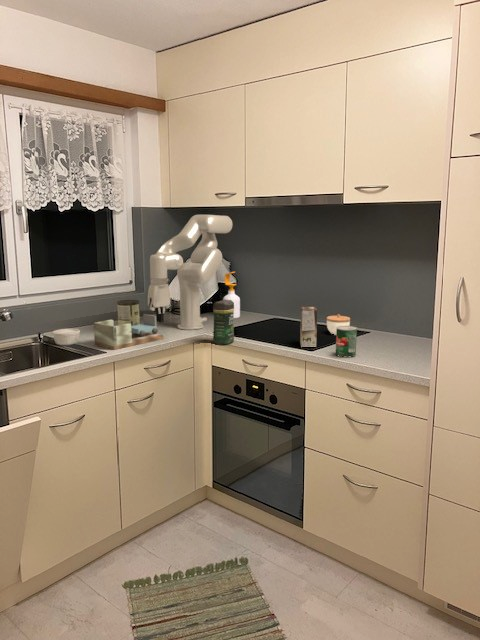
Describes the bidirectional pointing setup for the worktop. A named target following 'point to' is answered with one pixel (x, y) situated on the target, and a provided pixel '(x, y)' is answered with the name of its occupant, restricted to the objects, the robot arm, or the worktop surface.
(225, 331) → the coffee jar
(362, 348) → the worktop surface
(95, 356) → the worktop surface
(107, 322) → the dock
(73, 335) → the ramekin
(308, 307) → the coffee box
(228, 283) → the soap bottle
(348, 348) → the canned tomato
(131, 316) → the coffee can
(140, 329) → the trolley
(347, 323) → the lidded jar
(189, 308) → the robot arm
